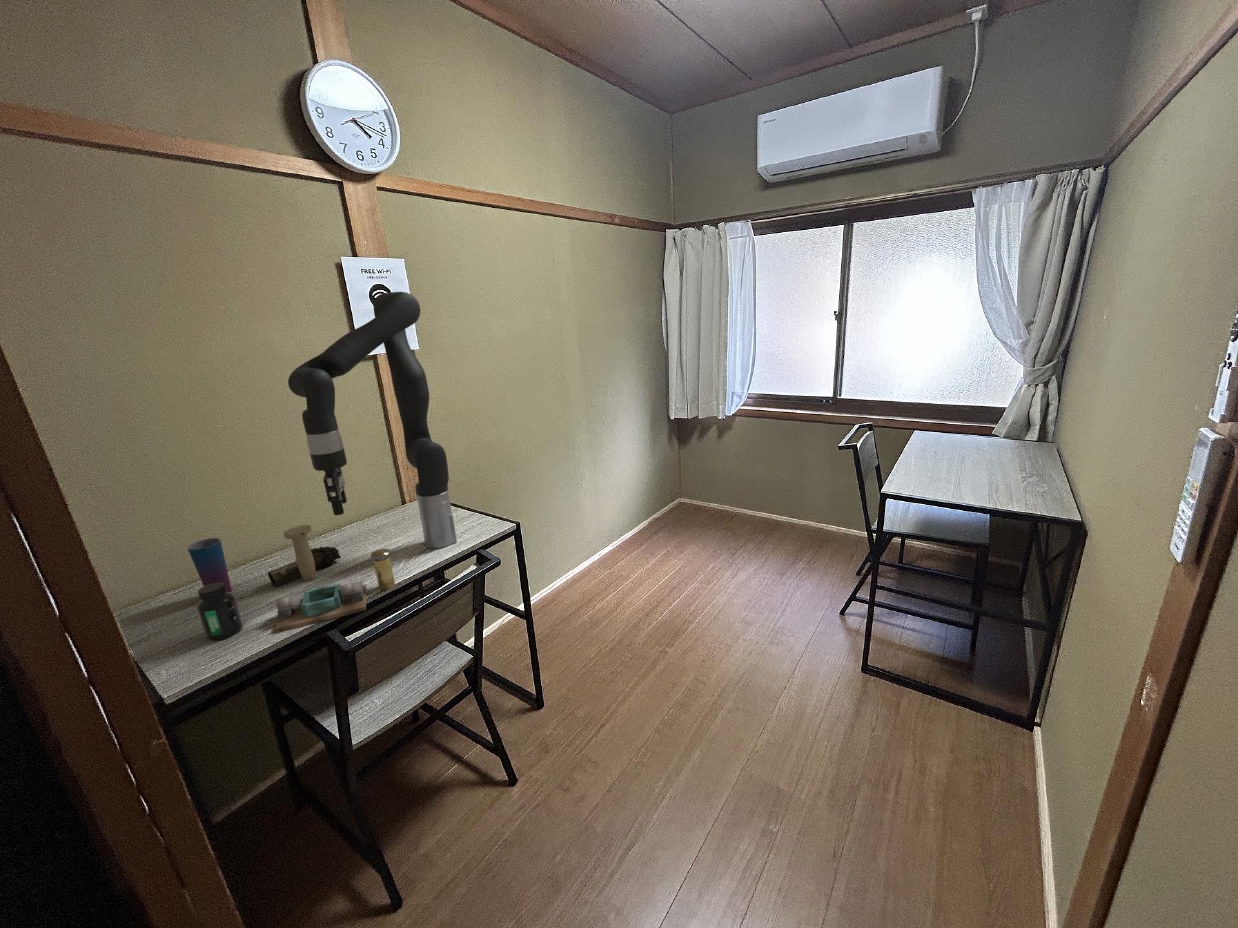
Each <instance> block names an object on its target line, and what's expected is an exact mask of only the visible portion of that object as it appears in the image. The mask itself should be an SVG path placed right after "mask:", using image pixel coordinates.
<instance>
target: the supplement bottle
mask: <svg viewBox="0 0 1238 928" xmlns="http://www.w3.org/2000/svg"><path fill="white" fill-rule="evenodd" d="M226 591H227V590H226V588H225V585H224V583H221V582H218V583H212V584H209V585H206V586H202V587H200V588H199V589H198V590H197V593H198V598H199V602H198V603H197V606H196V609H197V612H198V616H199V618H200V619H199V620H200V622H201V624H202V627H203V631H204V634H205V636H206V638H207V640H209V641H212V642H213V641H214V642H216V641H217V642H218V641H223V640H225V639H229V638H231V637H233V636H235V635H236V634H238V633H239V632H240V631H241V630H242V629H243V626H244V624H243V621H242V618H241V615H240V610H239V608H238V604H237V602H236V598H235V596H234V594H233V593H232V592H231V593H229V592H226Z"/></svg>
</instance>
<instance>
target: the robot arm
mask: <svg viewBox="0 0 1238 928" xmlns="http://www.w3.org/2000/svg"><path fill="white" fill-rule="evenodd" d="M374 299H375V300H374V301H373V314H374V318H373V319H371V320H369V321H368V322H367V323H365V324H363V325H361V326H359V327H357V328H355V329H353V330H352V331H349V332H347V333H346V334H344V335H342V336H341V337H340V338H339V339H337V340H336V341H334V343H332V344H331V345H330V346H328V347H327V348H326V349H325V350H323V351H322V352H321V353H320V354H318V355H316V356H315V357H312V358H310V359H309V360H307V361H305V362H304V363H302V364H301V365H299V366H297V367H296V368H295V369H294V370H292V372H291V373H290V375H289V376H288V380H287V383H288V384H287V385H288V387H289V390H290V391H291V392H292V393H293V394H294V395H296V396H298V397H301V398H305V399H306V409H304V410H303V411H302V413H301V414H302V415H301V416H302V423H303V427H304V431H305V433H306V442H307V447H308V452H309V455H310V456H309V457H310V459H311V460H310V461H311V464H312V466H313V469H314V470H315V471H317V472H320V471H323V472H324V476H323V478H322V479H323V481H322V482H323V484H324V488H325V494H326V497H327V501H328V502H329V503H330V504H331V507H332V512H333V515H334V516H340V515H343V514H344V513H345V509H344V506H343V504H346V503H347V502H348V501H347V495H346V491H345V487H346V486H345V483H346V482H345V478H344V473H343V470H342V468H343V467H345V466H346V465H347V463H348V461H347V456H346V452H345V451H346V450H345V448H344V442H343V439H342V435H341V433H340V431H339V426H338V425H339V424H338V422H337V418H336V414H335V407H336V389H335V388H336V387H335V384H334V380H333V379H335V378H338V377H342V376H345V375H346V374H347V373H350V371H351V370H352V369H354V368H355V367H357V365H358V364H359V363H360V362H362V361H363V360H364V359H365V358H366V357H367V356H369V354H371V353H372V352H373V351H374V350H376V349H377V348H379V347H380V346H381V345H382V344H383V346H384V350H385V355H386V358H387V363H388V367H389V371H390V377H391V381H392V382H391V383H392V387H393V391H394V397H395V400H396V404H397V408H398V413H399V416H400V421H401V424H402V428H403V439H404V440H403V441H404V449H405V451H404V452H405V455H406V456H405V457H406V460H407V461H408V463H409V464H410V466H411V467H413V468H414V469H416V471H417V472H416V473H417V479H418V482H416V485H415V494H416V498H417V499H416V500H417V505H418V511H419V515H420V521H421V526H422V533H423V541H424V545H425V546H426V548H429V549H442V548H445V547H448V546H451V545H452V544H456V543H458V540H457V533H456V529H455V528H456V527H455V521H454V515H453V512H452V505H451V501H450V494H449V487H448V484H449V479H450V478H449V477H450V476H449V468H448V467H449V466H448V460H447V453H446V451H445V449H444V448H443V446H441V445H440V444H439V443H437V442H435V441H433V440H432V438H431V434H430V430H429V427H428V425H429V424H428V411H429V405H430V390H429V386H428V379H427V375H426V373H425V370H424V368H423V366H422V364H421V363H420V361H419V360H418V358H417V356H416V354H415V353H414V351H412V349H411V346H410V343H409V341H408V338H407V332H406V329H408V328H409V327H411V326H413V325H414V324H415V323H416V322H418V320H419V319H420V315H421V306H420V303H419V301H418V299H417V298H416V297H415V296H414V295H413V294H411V293H409V292H405V291H391V292H384V293H383V292H382V293H381V294H378V295H377V296H376V297H375V298H374ZM333 494H335V495H333Z"/></svg>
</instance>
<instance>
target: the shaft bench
mask: <svg viewBox="0 0 1238 928" xmlns="http://www.w3.org/2000/svg"><path fill="white" fill-rule="evenodd" d="M367 588H368V587H367V584H366V583H364V584H363V582H362V580H360V581H356V582H352V583H347V584H343V585H341V583H338V584H336V583H335V584H333V583H332V584H330V585H326V586H321V587H316V588H312V589H309V590H307V591H304V593H303V597H302V595H300V594H298V595H294V596H290V597H285V598H281V599H277V601H276V608H277V615H278V619H277V622H276V625H275V627H274V630H275V633H280V632H284V631H288V630H292V629H297V628H300V627H303V626H305V627H306V626H308V625H312V624H316V623H320V622H324V621H328V620H332V619H336V618H341V617H344V616H348V615H353V614H357V613H360V612H363V611H366V610H367V595H368V594H367V592H368V591H367V590H368V589H367Z"/></svg>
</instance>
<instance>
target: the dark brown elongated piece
mask: <svg viewBox="0 0 1238 928" xmlns="http://www.w3.org/2000/svg"><path fill="white" fill-rule="evenodd" d="M310 549H311V552H312V555H313V558H314V563H315V570H318V569H321V568H322V569H323V568H325V567H331V566H333V565H334V563H335V561H336V560H339V559H341V558H342V556H341V555H340V553H339V552H340V551H339V549H337V548H336V547H334V546H333V547H331V546H321V547H318V548H317V547H314V548H310ZM267 576H268V578H269V581H270V583H271V584H272V586H274V587H279V586H281V585H283V584H286V583H287V582H289V581H292V580H294V579H297V578H298V577H300V576H301V577H302V575H301V573H300V571H299V568H298V565H297V561H294V562H291V563H289V564H286V565H284V566H281V567H278V568H275V569H273V570H269V571H268V572H267Z"/></svg>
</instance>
